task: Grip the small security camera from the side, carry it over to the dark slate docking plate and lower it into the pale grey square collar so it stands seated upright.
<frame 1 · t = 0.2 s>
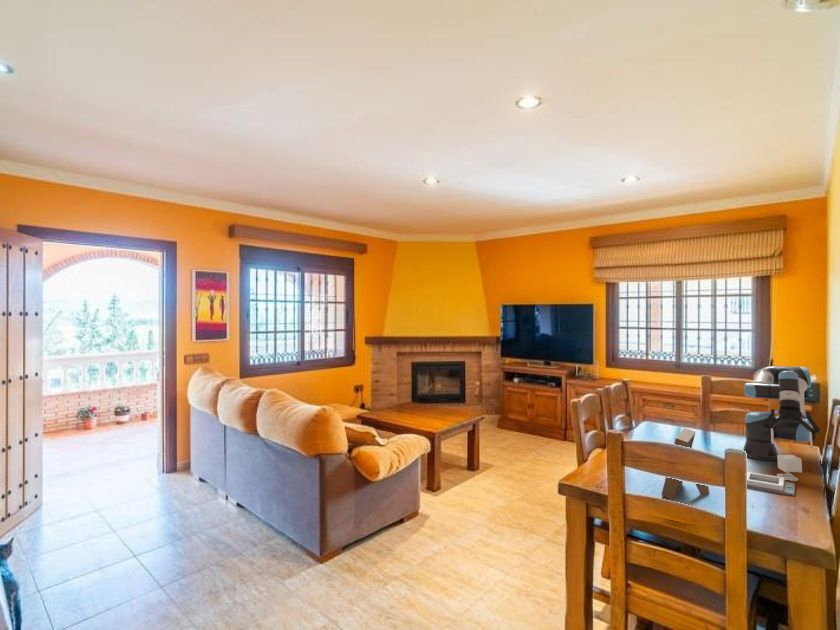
hand: (791, 444, 199), 14 cm above the table, tool tilted 35°, fingers open, 13 cm apart
camera dock: (764, 485, 188), on the table
security camera: (789, 479, 196), on the table
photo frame: (686, 494, 181), on the table
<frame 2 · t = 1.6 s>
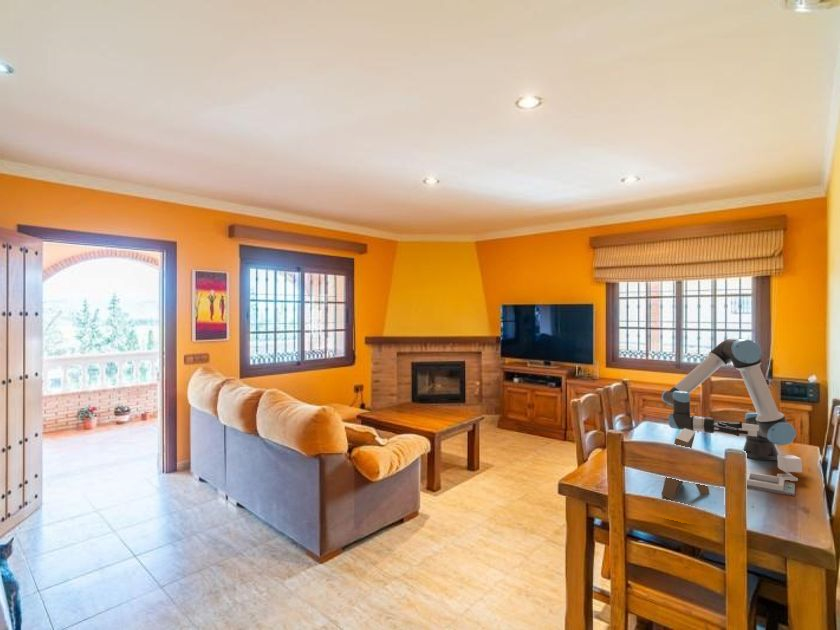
hand: (758, 430, 203), 20 cm above the table, tool horizontal, fingers open, 13 cm apart
nothing on the table moved.
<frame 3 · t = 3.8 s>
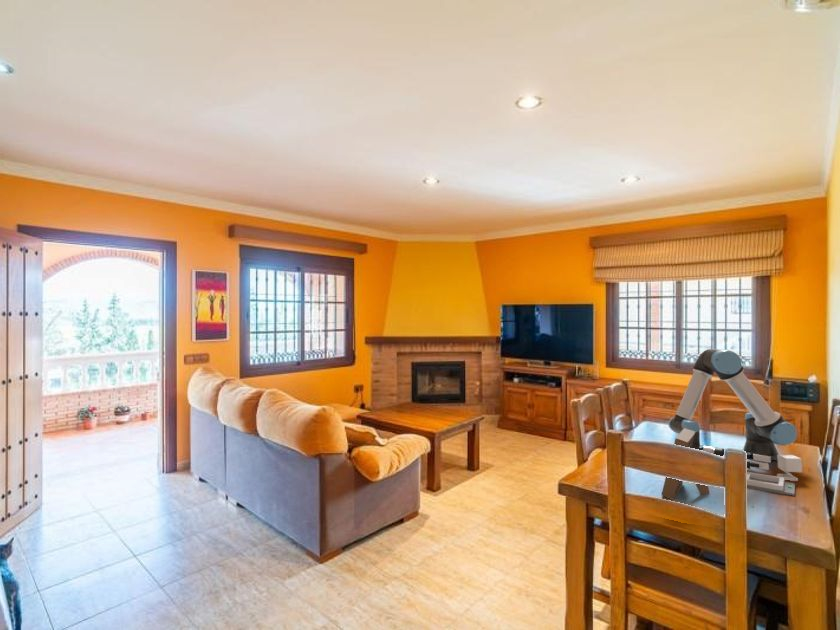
hand: (769, 463, 200), 6 cm above the table, tool horizontal, fingers open, 13 cm apart
nothing on the table moved.
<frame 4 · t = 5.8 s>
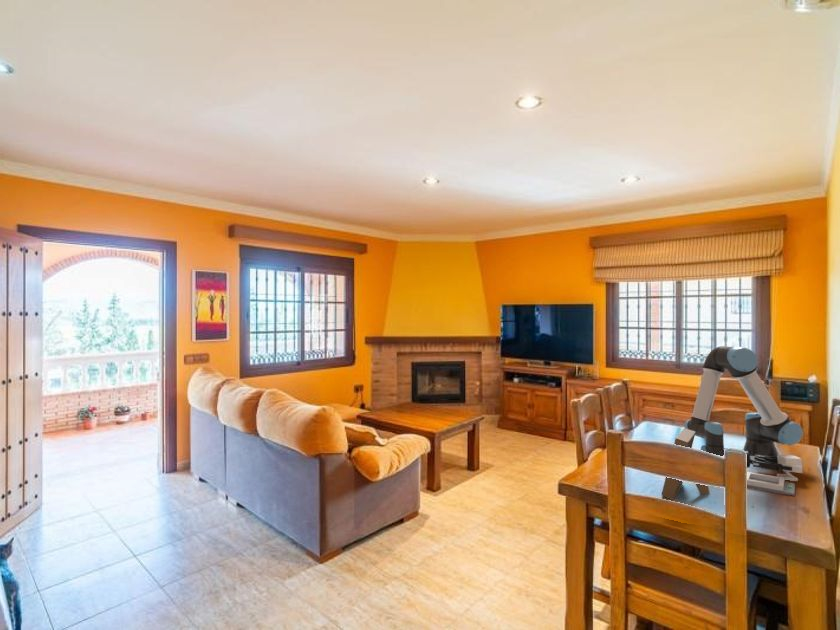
hand: (802, 467, 193), 6 cm above the table, tool horizontal, fingers closed on security camera, 9 cm apart
security camera: (789, 479, 196), on the table, touching gripper
everything else where it was.
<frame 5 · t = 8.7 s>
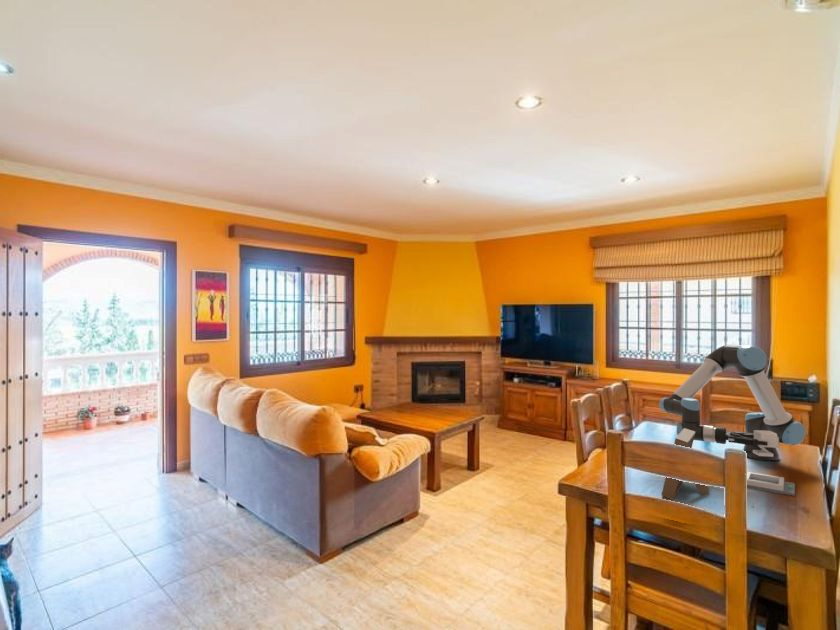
hand: (778, 442, 187), 19 cm above the table, tool horizontal, fingers closed on security camera, 8 cm apart
security camera: (764, 455, 190), point 13 cm above the table, touching gripper
everything else where it was.
when the fingers open (8 cm above the table, at t = 11.3 s): security camera drops 1 cm, resting on camera dock.
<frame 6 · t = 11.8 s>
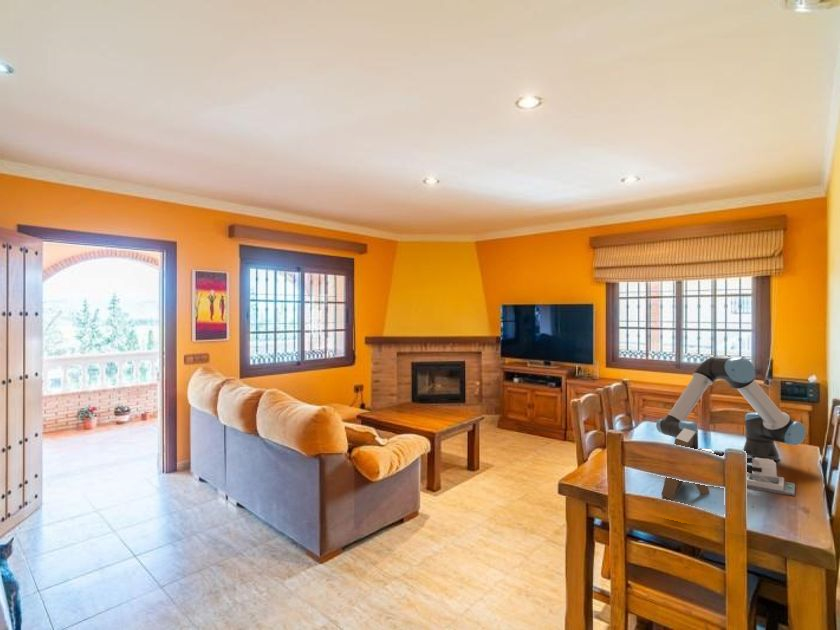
hand: (773, 467, 186), 8 cm above the table, tool horizontal, fingers open, 13 cm apart
security camera: (763, 483, 188), point 1 cm above the table, touching camera dock
everything else where it was.
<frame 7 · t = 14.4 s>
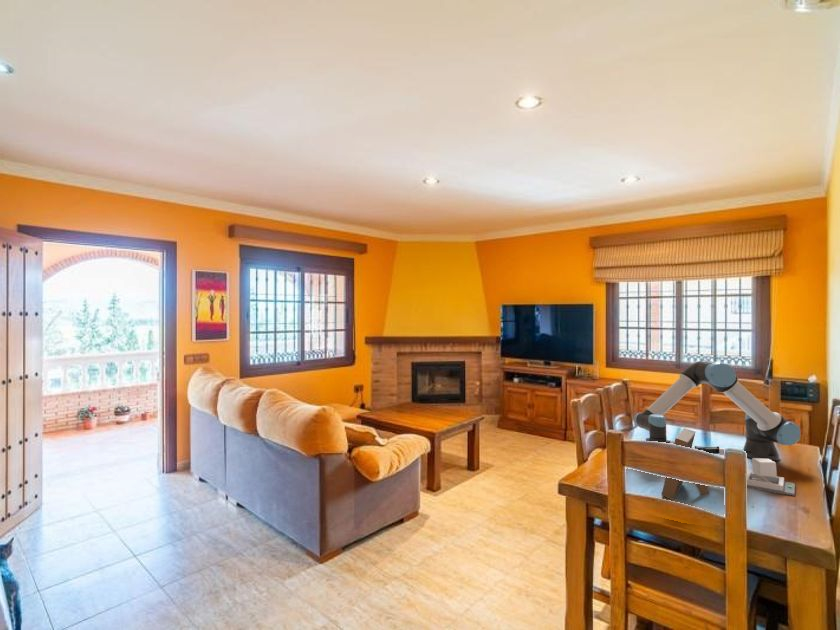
hand: (734, 457, 196), 10 cm above the table, tool horizontal, fingers open, 13 cm apart
nothing on the table moved.
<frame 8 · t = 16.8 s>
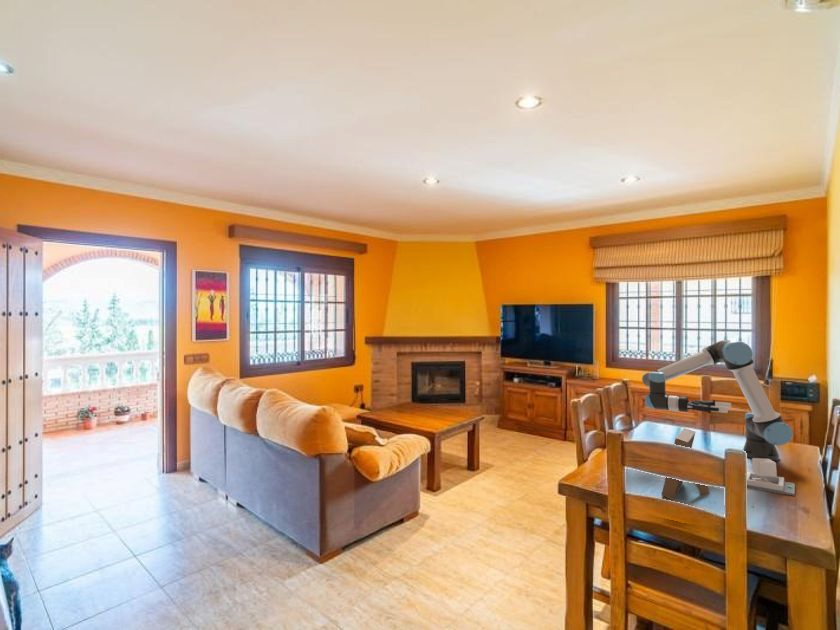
hand: (729, 407, 209), 30 cm above the table, tool horizontal, fingers open, 13 cm apart
nothing on the table moved.
at the end: security camera 0.2 cm off-centre on the camera dock, point 0.8 cm above the camera dock's base; security camera tilted 0°; the gripper is holding nothing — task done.
